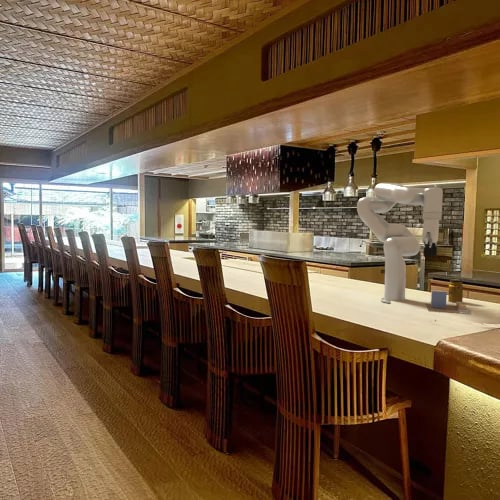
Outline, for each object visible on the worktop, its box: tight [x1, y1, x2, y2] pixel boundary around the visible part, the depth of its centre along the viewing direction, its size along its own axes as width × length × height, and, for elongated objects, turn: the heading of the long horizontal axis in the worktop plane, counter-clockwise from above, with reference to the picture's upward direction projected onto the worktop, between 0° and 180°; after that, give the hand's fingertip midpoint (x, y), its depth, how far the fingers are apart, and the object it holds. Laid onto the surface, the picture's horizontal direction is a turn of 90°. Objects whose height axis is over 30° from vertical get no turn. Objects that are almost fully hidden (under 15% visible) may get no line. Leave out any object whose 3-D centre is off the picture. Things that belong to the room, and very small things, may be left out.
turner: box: [455, 301, 472, 315], centre depth 185 cm, size 17×4×2 cm, turn 163°
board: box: [424, 303, 468, 315], centre depth 187 cm, size 18×16×2 cm
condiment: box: [447, 278, 464, 304], centre depth 204 cm, size 7×8×12 cm
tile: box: [430, 290, 448, 308], centre depth 190 cm, size 2×6×7 cm, turn 73°
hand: (430, 256), depth 188 cm, fingers open, 9 cm apart
